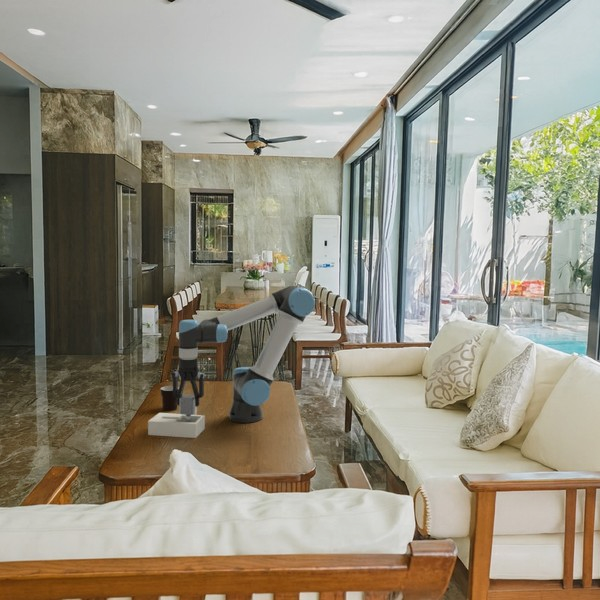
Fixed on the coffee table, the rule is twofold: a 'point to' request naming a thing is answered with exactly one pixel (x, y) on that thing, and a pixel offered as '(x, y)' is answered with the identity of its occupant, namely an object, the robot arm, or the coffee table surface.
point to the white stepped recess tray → (176, 425)
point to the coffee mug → (168, 398)
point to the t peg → (187, 406)
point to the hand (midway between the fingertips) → (188, 413)
